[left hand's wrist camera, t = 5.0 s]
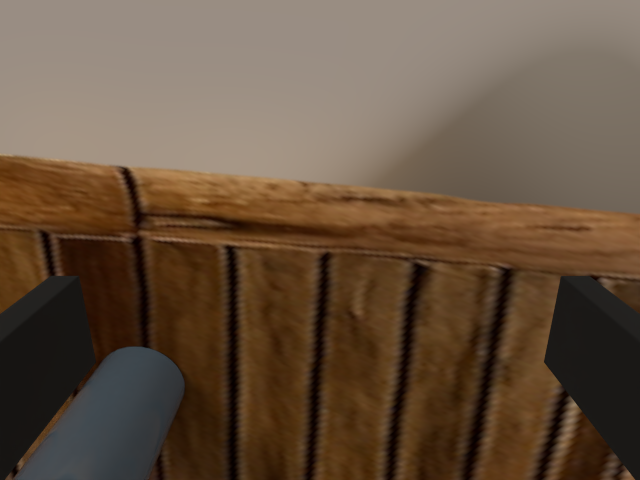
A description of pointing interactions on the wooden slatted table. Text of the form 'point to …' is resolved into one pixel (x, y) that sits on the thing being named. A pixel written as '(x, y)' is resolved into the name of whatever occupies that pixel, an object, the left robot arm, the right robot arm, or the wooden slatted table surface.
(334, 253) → the wooden slatted table surface
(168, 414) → the jar
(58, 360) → the left robot arm
